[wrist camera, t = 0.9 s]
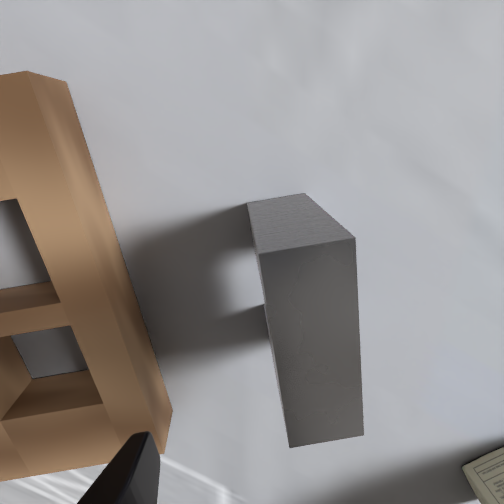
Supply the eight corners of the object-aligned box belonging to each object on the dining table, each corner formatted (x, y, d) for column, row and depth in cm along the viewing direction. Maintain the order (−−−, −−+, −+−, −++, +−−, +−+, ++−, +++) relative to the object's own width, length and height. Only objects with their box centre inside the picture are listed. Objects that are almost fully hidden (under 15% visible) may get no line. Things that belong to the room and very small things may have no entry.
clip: (318, 330, 16) (363, 435, 11) (269, 338, 16) (289, 447, 11) (304, 193, 14) (355, 237, 8) (246, 203, 14) (258, 253, 8)
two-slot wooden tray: (172, 410, 18) (164, 453, 15) (26, 435, 18) (-5, 482, 15) (66, 81, 12) (26, 70, 10) (-153, 118, 12) (-247, 116, 10)
